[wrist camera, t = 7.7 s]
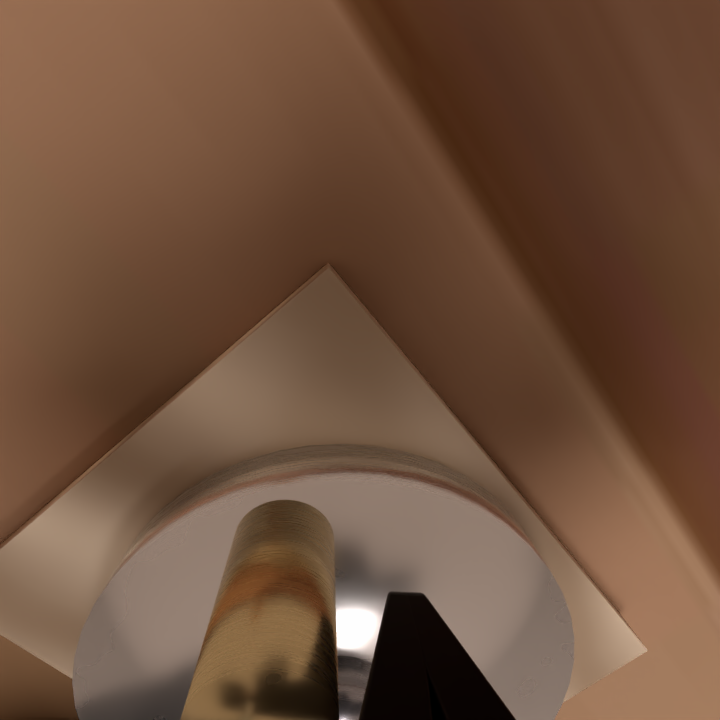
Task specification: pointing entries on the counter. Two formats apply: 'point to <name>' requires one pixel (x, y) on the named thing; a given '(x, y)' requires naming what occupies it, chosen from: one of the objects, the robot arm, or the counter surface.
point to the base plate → (262, 436)
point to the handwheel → (316, 592)
